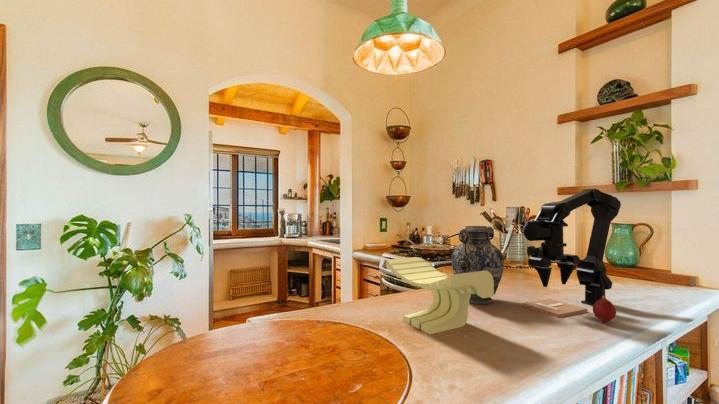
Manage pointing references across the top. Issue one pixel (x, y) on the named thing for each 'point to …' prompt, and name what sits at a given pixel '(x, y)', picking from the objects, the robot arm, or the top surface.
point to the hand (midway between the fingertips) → (554, 285)
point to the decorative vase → (478, 257)
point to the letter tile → (554, 307)
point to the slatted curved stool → (441, 293)
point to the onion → (604, 310)
